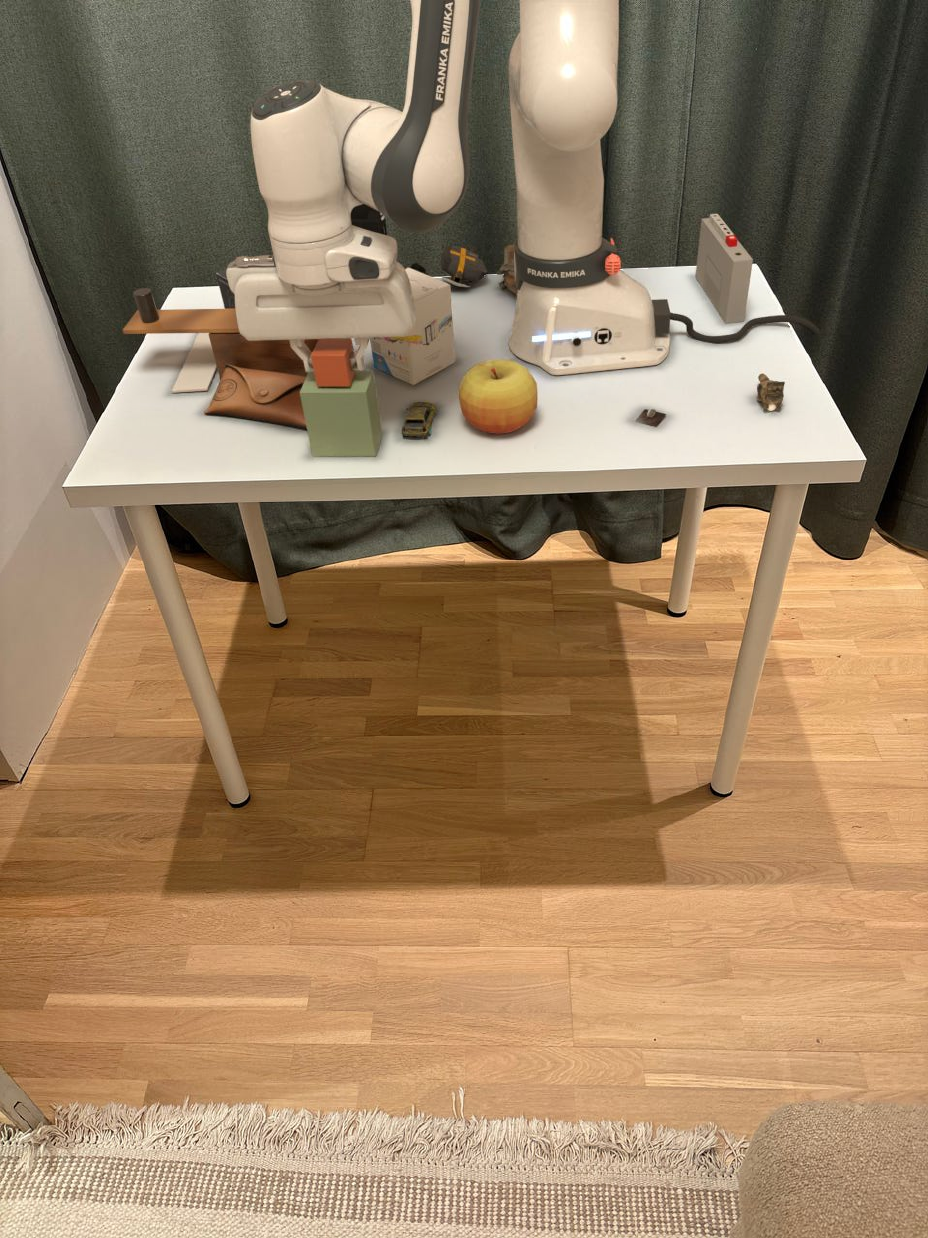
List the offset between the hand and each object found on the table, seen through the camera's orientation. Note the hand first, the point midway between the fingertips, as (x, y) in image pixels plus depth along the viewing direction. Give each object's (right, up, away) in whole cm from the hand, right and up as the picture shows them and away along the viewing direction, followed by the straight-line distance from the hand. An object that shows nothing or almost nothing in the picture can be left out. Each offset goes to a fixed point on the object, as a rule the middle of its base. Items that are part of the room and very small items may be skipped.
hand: (335, 369), depth 113 cm
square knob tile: (+39, -5, +7) cm, 40 cm away
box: (-15, +11, +29) cm, 34 cm away
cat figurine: (+53, -2, +9) cm, 54 cm away
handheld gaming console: (-1, +15, +31) cm, 34 cm away
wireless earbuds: (+5, +25, +39) cm, 46 cm away
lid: (-22, +11, +19) cm, 31 cm away
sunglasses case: (-10, -2, +15) cm, 18 cm away
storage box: (-10, +6, +22) cm, 25 cm away
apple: (+20, -5, +9) cm, 22 cm away
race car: (+10, -4, +10) cm, 15 cm away
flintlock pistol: (+31, +25, +37) cm, 54 cm away
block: (0, -1, +1) cm, 1 cm away
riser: (+1, -8, +7) cm, 11 cm away
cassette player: (+53, +18, +30) cm, 64 cm away
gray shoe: (+16, +28, +38) cm, 50 cm away
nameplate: (-22, +9, +27) cm, 36 cm away
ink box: (+8, +6, +21) cm, 23 cm away
